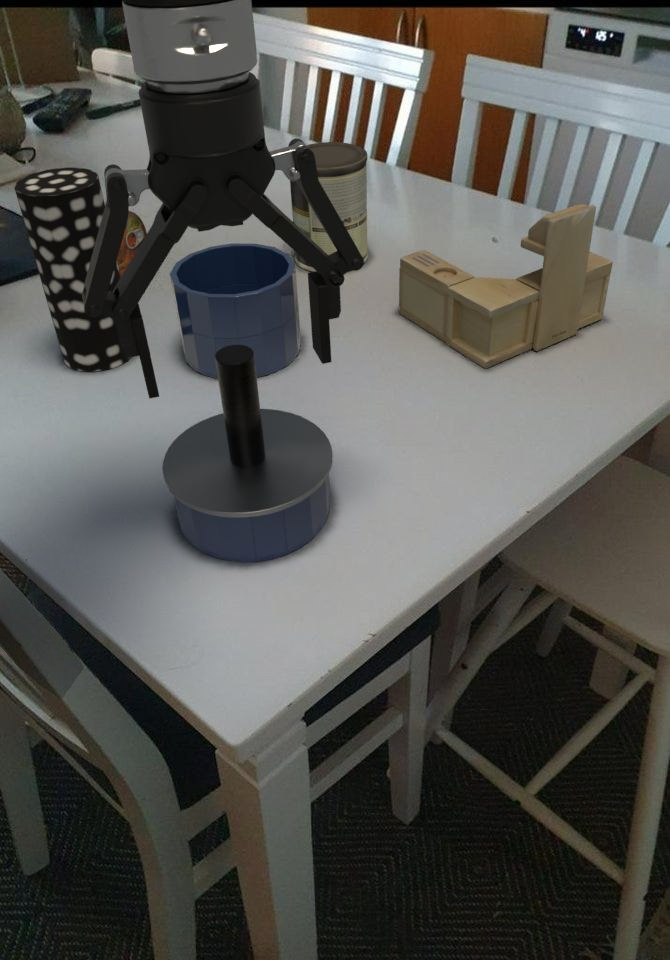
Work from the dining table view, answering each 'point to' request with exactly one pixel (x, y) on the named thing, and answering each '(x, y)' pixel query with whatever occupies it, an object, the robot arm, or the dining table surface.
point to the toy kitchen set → (511, 293)
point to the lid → (246, 450)
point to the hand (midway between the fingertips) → (238, 371)
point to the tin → (130, 241)
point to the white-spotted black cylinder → (69, 260)
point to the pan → (256, 529)
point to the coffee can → (335, 196)
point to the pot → (237, 305)
